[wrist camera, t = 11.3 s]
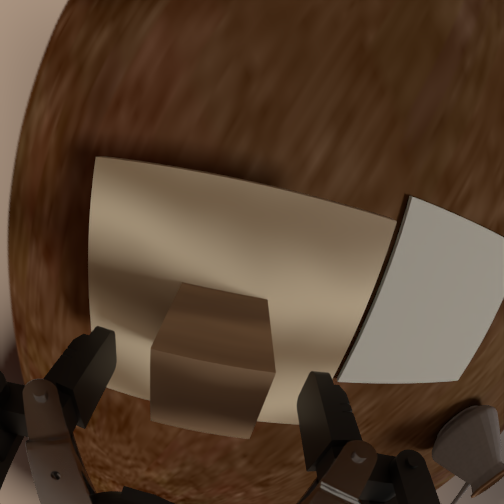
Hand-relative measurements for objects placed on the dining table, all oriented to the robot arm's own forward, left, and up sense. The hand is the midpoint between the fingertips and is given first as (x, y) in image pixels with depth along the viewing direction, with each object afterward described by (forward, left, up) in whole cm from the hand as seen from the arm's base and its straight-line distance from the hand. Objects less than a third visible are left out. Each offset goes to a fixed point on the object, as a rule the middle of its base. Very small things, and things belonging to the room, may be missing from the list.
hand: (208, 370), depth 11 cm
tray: (0, +19, -9) cm, 21 cm away
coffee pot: (+22, +36, -9) cm, 43 cm away
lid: (0, 0, -4) cm, 4 cm away
